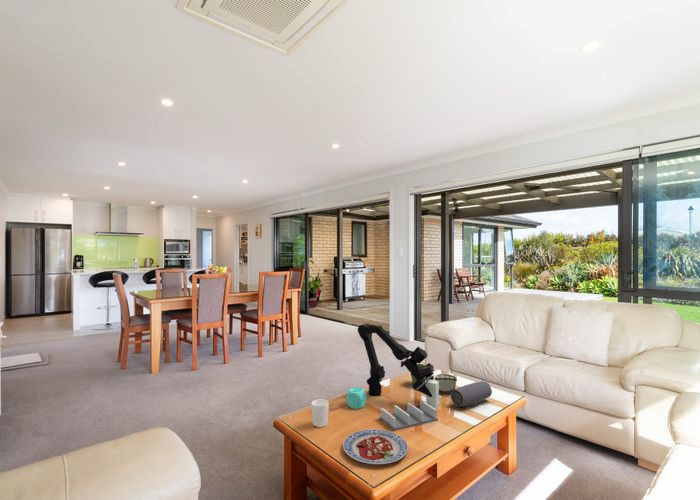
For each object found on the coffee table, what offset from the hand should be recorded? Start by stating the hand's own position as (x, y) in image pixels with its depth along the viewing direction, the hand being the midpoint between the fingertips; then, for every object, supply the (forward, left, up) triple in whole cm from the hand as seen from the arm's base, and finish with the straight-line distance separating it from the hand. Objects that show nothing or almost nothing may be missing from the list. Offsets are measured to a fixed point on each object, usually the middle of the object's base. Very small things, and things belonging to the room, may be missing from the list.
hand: (434, 393), depth 182 cm
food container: (+11, +19, -7) cm, 23 cm away
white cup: (-58, -16, -7) cm, 61 cm away
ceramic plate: (-35, -38, -7) cm, 52 cm away
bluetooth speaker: (+21, +4, -7) cm, 22 cm away
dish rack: (-16, -13, -7) cm, 22 cm away
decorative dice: (-40, +4, -7) cm, 41 cm away
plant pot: (-1, +32, -7) cm, 32 cm away
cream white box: (-1, +1, -7) cm, 7 cm away
